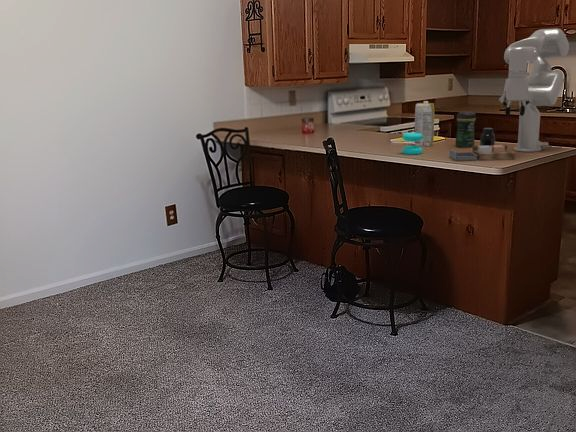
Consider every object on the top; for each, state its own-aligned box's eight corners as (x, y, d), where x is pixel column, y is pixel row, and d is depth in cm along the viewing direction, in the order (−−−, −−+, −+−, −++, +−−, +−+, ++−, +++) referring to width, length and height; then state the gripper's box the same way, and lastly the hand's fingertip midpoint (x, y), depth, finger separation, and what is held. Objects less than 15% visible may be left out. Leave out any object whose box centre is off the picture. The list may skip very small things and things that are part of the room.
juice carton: (434, 144, 323) (435, 100, 316) (429, 146, 316) (430, 101, 310) (418, 144, 328) (419, 100, 322) (413, 146, 321) (413, 101, 315)
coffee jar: (464, 148, 307) (465, 112, 302) (452, 146, 314) (454, 111, 309) (477, 146, 312) (478, 111, 307) (465, 144, 318) (467, 110, 313)
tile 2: (501, 150, 277) (501, 145, 277) (504, 152, 272) (505, 146, 272) (490, 150, 277) (490, 145, 277) (493, 152, 273) (494, 147, 272)
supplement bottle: (477, 152, 291) (478, 128, 288) (483, 151, 296) (485, 127, 293) (490, 154, 286) (491, 129, 283) (496, 152, 291) (498, 128, 288)
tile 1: (488, 150, 277) (488, 145, 277) (491, 152, 273) (491, 147, 272) (477, 151, 278) (477, 145, 277) (480, 152, 273) (481, 147, 272)
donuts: (411, 132, 301) (426, 133, 294) (411, 151, 304) (426, 153, 296) (398, 133, 296) (413, 135, 288) (398, 153, 298) (412, 155, 290)
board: (505, 155, 281) (506, 144, 280) (514, 159, 270) (515, 148, 268) (472, 156, 282) (472, 146, 281) (479, 160, 270) (479, 149, 269)
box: (470, 156, 282) (470, 148, 281) (477, 160, 270) (477, 151, 269) (449, 157, 282) (449, 148, 281) (455, 161, 271) (456, 152, 270)
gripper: (533, 74, 269) (530, 114, 274) (495, 76, 270) (493, 115, 274) (539, 75, 262) (536, 115, 267) (500, 76, 263) (498, 117, 267)
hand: (514, 115), depth 270 cm, fingers open, 5 cm apart
